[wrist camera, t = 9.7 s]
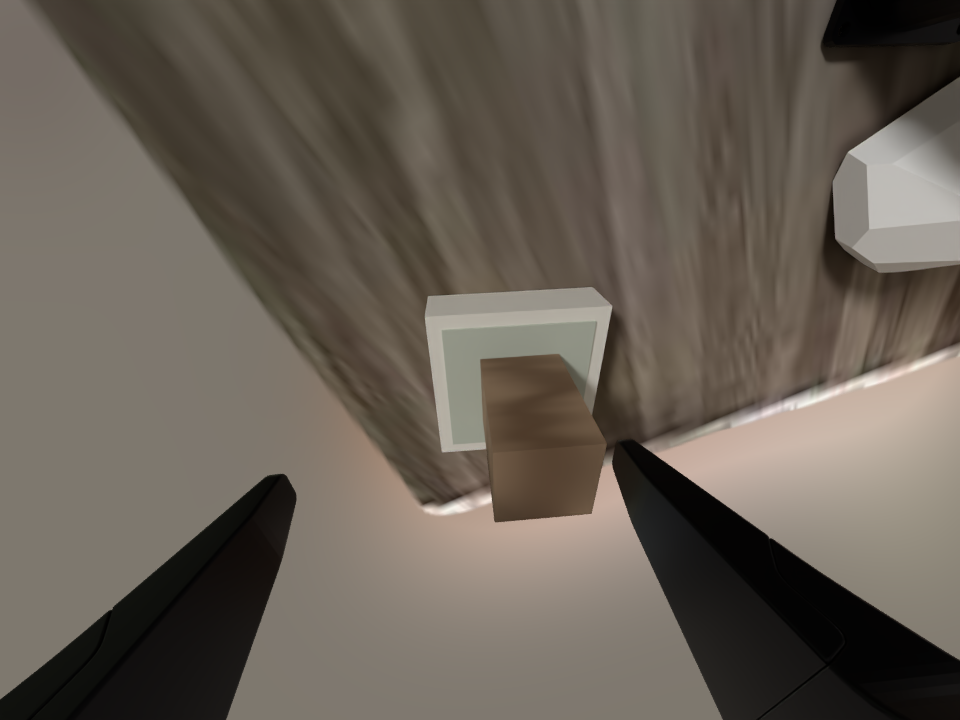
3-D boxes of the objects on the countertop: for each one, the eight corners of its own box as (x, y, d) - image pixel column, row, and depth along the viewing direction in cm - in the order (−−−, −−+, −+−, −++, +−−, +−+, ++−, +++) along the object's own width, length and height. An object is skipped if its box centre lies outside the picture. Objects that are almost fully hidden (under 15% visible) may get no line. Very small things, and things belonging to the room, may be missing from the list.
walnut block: (558, 353, 19) (607, 443, 13) (552, 414, 22) (591, 513, 16) (480, 359, 19) (492, 452, 13) (482, 419, 21) (494, 522, 15)
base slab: (592, 287, 21) (613, 307, 18) (573, 413, 26) (587, 442, 23) (428, 296, 20) (424, 318, 17) (442, 422, 25) (442, 454, 23)
